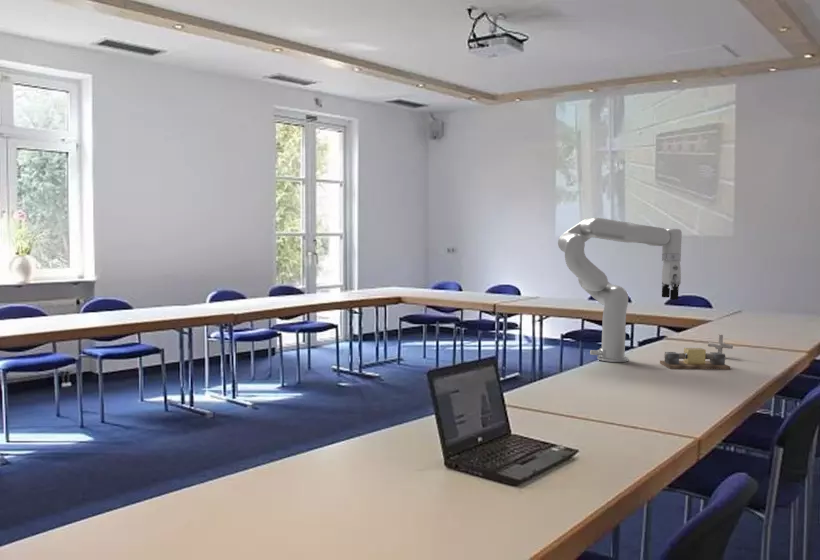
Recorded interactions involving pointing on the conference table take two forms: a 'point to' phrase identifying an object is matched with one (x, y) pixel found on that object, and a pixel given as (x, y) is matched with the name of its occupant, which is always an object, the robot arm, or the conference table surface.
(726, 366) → the shaft stand
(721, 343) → the pipe connector
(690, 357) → the block
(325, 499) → the conference table surface
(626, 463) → the conference table surface
